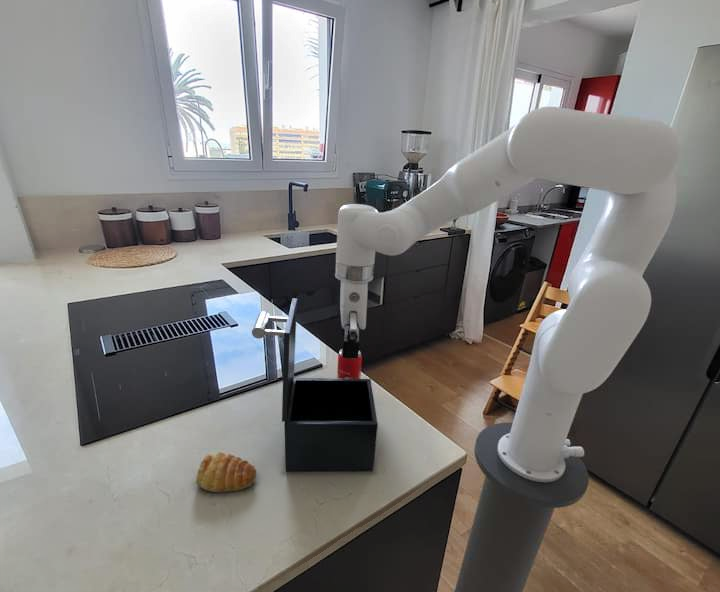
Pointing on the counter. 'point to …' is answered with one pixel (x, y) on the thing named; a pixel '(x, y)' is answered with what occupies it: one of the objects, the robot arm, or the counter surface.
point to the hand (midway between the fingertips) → (349, 345)
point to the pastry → (225, 473)
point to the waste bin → (330, 426)
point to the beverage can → (349, 367)
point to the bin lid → (289, 348)
